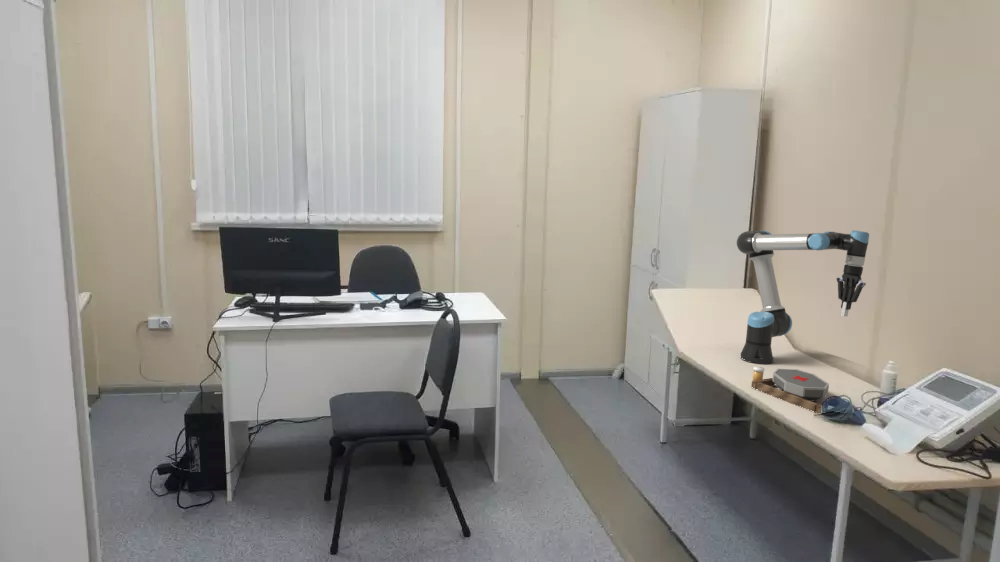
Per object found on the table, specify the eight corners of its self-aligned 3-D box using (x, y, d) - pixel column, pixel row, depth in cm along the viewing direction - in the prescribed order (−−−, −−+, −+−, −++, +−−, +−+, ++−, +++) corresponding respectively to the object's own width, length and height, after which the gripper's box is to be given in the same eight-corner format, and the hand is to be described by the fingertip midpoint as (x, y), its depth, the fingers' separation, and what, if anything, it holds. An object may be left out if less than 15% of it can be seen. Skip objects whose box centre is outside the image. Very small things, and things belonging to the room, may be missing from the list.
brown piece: (751, 387, 278) (752, 381, 278) (770, 384, 284) (771, 378, 283) (820, 414, 249) (821, 407, 249) (840, 410, 255) (841, 403, 254)
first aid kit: (834, 406, 259) (805, 386, 284) (836, 388, 258) (807, 369, 283) (790, 405, 259) (765, 384, 284) (792, 387, 258) (767, 368, 282)
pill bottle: (749, 382, 285) (751, 367, 284) (756, 381, 287) (758, 366, 286) (757, 386, 281) (759, 370, 280) (764, 384, 283) (766, 368, 282)
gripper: (835, 262, 298) (826, 312, 302) (862, 267, 287) (852, 319, 291) (846, 262, 302) (836, 312, 306) (872, 267, 290) (862, 319, 294)
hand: (844, 315), depth 298 cm, fingers closed
